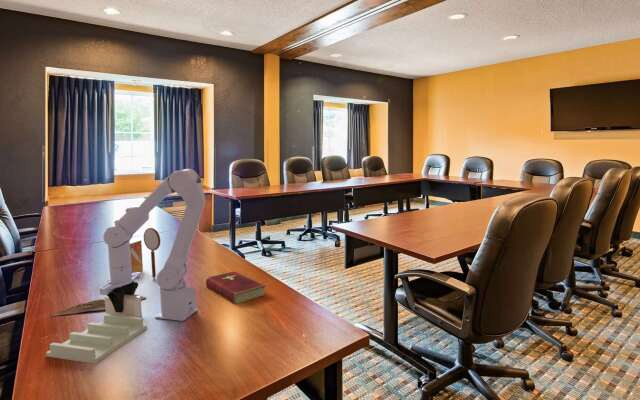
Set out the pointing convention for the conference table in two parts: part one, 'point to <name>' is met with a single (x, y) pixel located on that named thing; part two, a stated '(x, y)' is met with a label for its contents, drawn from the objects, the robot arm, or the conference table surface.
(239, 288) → the hardcover book
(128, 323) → the rack
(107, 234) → the robot arm
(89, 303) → the wooden fragment
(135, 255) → the small box
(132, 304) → the beige rectangular block
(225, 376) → the conference table surface
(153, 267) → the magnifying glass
